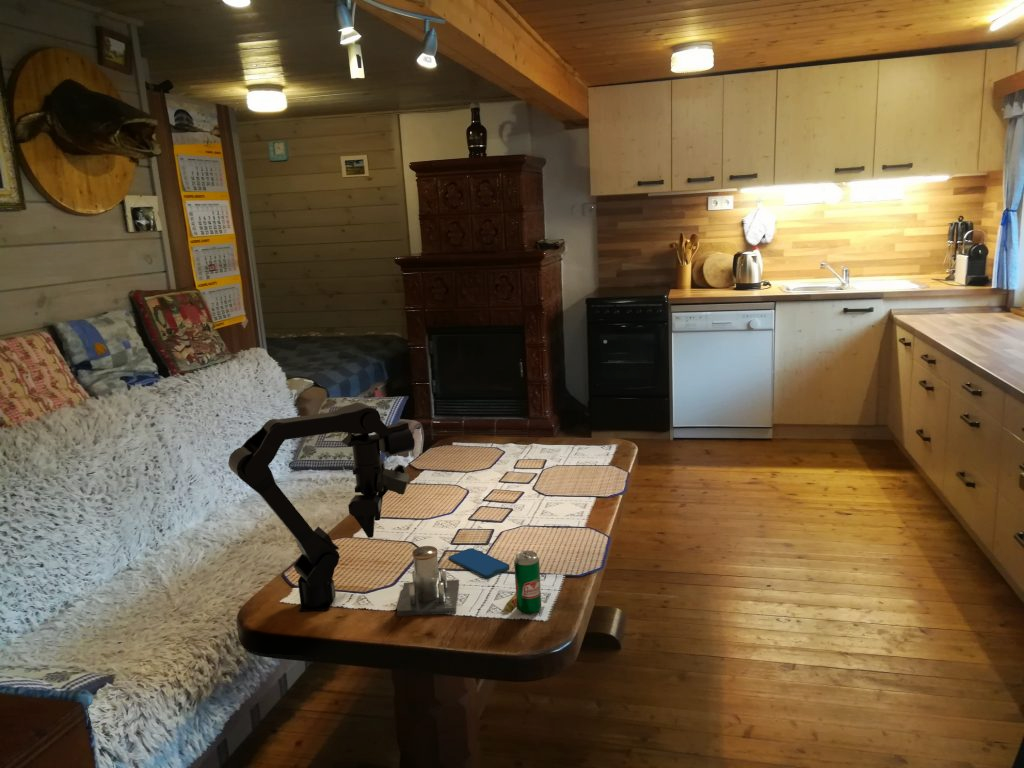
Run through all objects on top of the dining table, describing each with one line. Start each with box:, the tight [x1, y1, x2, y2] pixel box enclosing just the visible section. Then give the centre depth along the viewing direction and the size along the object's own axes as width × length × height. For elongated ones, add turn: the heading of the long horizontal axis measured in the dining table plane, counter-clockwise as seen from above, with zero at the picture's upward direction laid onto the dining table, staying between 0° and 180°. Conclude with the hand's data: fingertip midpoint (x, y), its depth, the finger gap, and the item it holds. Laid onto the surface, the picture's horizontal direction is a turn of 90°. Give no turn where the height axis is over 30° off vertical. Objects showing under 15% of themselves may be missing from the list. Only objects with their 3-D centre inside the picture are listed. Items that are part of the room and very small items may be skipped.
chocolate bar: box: [502, 593, 517, 613], centre depth 161 cm, size 3×12×2 cm, turn 155°
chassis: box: [396, 568, 460, 617], centre depth 161 cm, size 12×12×5 cm
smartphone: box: [448, 547, 510, 579], centre depth 177 cm, size 7×1×15 cm
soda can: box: [513, 550, 542, 615], centre depth 154 cm, size 5×5×12 cm
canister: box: [411, 545, 441, 601], centre depth 160 cm, size 5×5×10 cm
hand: (374, 528), depth 167 cm, fingers open, 9 cm apart
